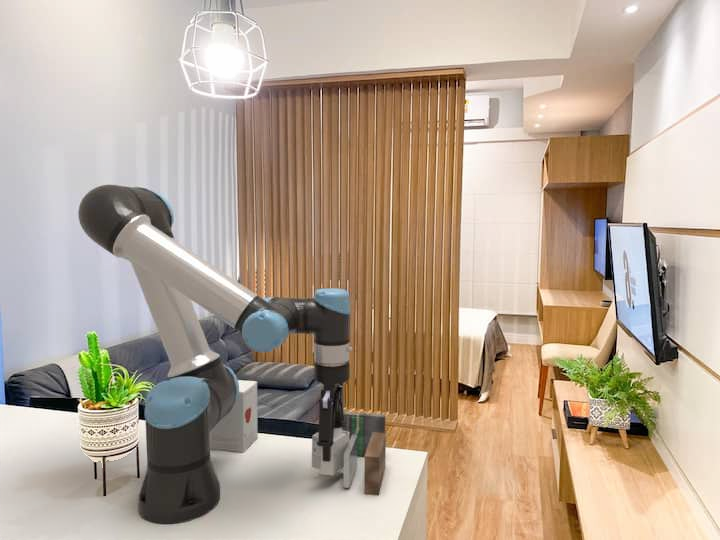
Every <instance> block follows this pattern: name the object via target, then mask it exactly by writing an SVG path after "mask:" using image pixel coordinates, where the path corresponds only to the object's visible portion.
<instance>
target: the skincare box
mask: <svg viewBox="0 0 720 540" xmlns="http://www.w3.org/2000/svg"><path fill="white" fill-rule="evenodd" d="M349 437H350V432H346V431H343V430H340V429H336V428H334V436H333V444H334V475H336V474H337V473H339V472H340V471H341V470H343V469H344V453H345V450H346V448H347V445H348V443H349ZM318 438H319V431H317V432H315V433H314V434H312V437H311V439H312V440H311V441H312V442H311V468H312V469H316V470H318V471H321V446H318V445H317V442H318Z"/></svg>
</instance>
